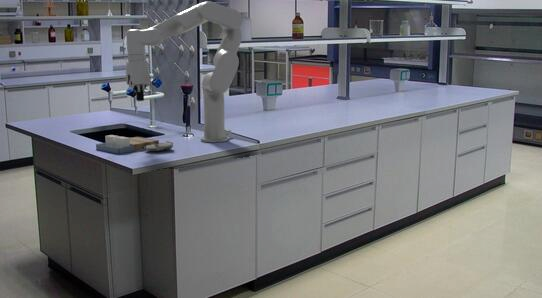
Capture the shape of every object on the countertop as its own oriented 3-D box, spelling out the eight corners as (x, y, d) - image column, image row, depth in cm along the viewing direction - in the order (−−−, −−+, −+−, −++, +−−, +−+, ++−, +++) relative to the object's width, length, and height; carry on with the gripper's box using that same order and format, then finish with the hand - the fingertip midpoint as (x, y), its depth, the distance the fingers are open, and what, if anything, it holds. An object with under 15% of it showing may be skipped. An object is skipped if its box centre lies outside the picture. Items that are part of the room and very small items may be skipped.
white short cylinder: (111, 134, 260) (105, 135, 257) (119, 136, 256) (113, 137, 254) (112, 147, 261) (105, 148, 258) (120, 148, 257) (113, 149, 255)
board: (137, 143, 273) (137, 136, 272) (159, 146, 264) (158, 140, 263) (112, 147, 262) (112, 140, 262) (133, 151, 253) (133, 144, 252)
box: (111, 147, 263) (111, 141, 262) (134, 151, 253) (134, 145, 252) (96, 149, 257) (96, 144, 256) (118, 154, 247) (118, 148, 246)
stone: (151, 153, 247) (151, 146, 246) (141, 151, 254) (141, 143, 253) (176, 149, 254) (176, 142, 254) (166, 147, 261) (165, 139, 261)
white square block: (121, 136, 256) (115, 137, 253) (129, 137, 252) (123, 138, 249) (122, 148, 257) (115, 150, 254) (130, 150, 253) (123, 151, 250)
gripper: (144, 57, 264) (147, 98, 268) (117, 59, 252) (121, 102, 256) (155, 57, 259) (158, 99, 263) (128, 59, 248) (132, 103, 252)
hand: (140, 100), depth 260 cm, fingers closed
